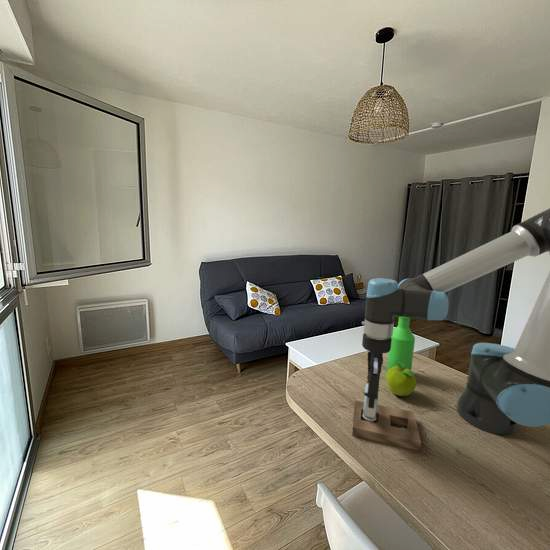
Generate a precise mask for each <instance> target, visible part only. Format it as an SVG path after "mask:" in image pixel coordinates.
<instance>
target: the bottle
mask: <svg viewBox="0 0 550 550" xmlns="http://www.w3.org/2000/svg"><path fill="white" fill-rule="evenodd" d="M410 322H411V318H408V317H398V322H397V326H396V327H395V328H393V335H392V337H391V338H392V342H391V350H390V351H389V352H387V362H386V372H387V371H388V370H389V369H391V368H392V367H394V366H398V365H397V364H396V362H402V363H404V365H405V368H407V369H409V370H411V371H412V368H413V357H414V353H415V351H414V350H415V343H416V337H415V335H414V334H413V332H412V329H410Z"/></svg>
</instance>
